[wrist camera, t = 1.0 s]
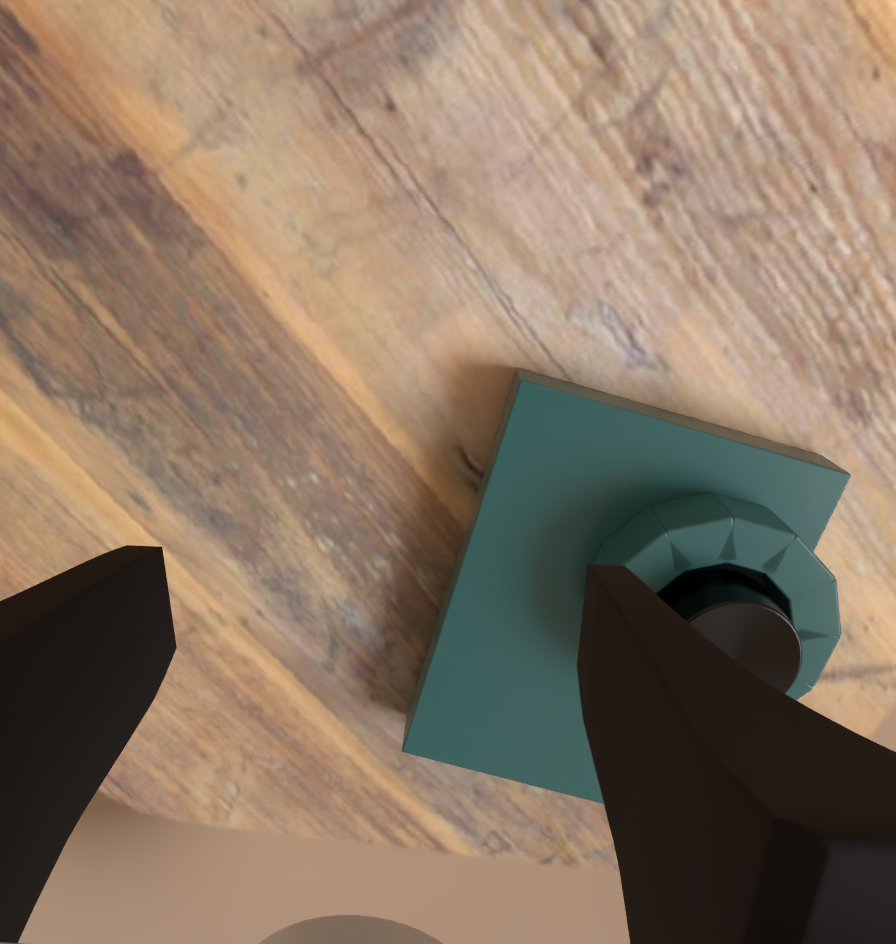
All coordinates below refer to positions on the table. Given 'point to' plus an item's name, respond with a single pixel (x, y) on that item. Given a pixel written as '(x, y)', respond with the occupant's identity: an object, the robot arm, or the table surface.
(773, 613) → the button
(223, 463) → the table surface
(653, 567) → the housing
